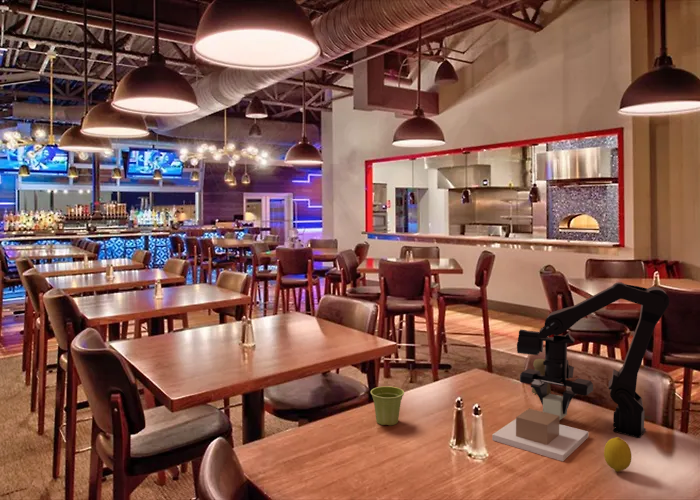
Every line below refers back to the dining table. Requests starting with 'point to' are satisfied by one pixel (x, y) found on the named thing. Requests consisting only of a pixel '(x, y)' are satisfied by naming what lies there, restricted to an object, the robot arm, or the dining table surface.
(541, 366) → the cork
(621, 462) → the lemon
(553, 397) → the sage block
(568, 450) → the build board
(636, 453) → the dining table surface
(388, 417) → the plant pot
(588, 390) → the robot arm
